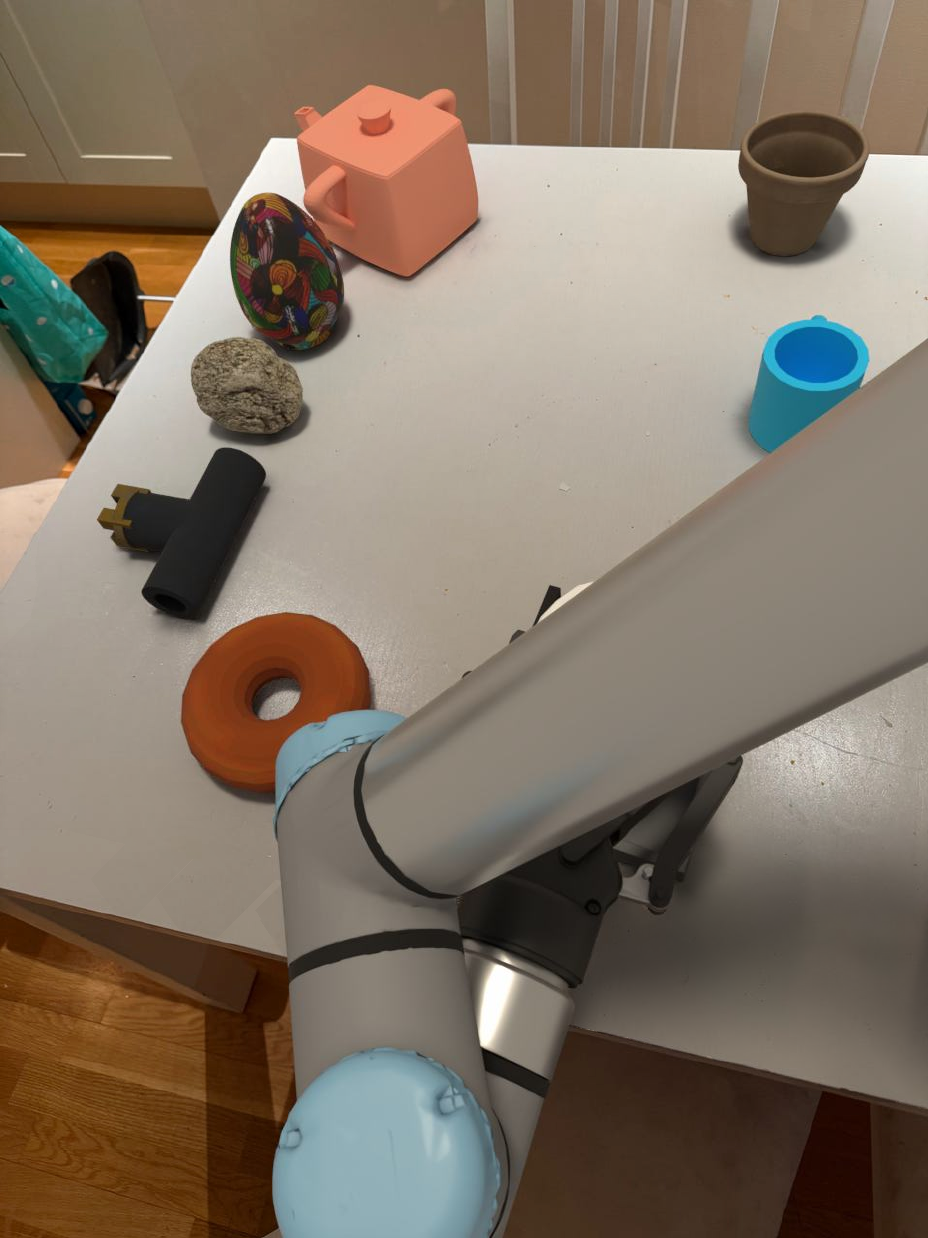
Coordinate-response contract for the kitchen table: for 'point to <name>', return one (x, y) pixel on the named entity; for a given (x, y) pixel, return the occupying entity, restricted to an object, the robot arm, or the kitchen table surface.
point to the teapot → (388, 176)
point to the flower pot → (798, 176)
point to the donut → (243, 667)
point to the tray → (658, 828)
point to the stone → (246, 386)
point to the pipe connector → (187, 529)
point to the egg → (285, 272)
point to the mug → (804, 377)
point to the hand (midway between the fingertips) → (633, 618)
